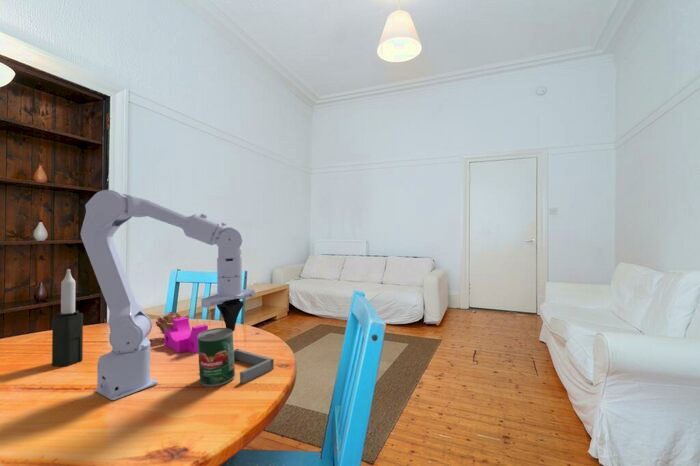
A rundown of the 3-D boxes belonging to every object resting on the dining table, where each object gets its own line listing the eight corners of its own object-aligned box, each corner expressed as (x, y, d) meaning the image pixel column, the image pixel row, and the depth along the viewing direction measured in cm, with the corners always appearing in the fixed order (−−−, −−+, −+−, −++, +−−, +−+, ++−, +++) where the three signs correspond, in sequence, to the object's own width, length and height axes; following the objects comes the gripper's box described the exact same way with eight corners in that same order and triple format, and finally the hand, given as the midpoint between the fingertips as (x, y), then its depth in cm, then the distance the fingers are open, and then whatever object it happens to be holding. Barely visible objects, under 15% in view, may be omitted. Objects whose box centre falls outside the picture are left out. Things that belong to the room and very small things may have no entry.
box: (242, 383, 77) (243, 373, 77) (205, 370, 84) (205, 360, 84) (273, 368, 86) (273, 359, 86) (236, 357, 93) (237, 348, 93)
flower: (156, 334, 113) (156, 311, 113) (186, 331, 117) (187, 309, 117) (153, 343, 104) (153, 318, 104) (185, 339, 108) (186, 315, 108)
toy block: (164, 344, 103) (164, 320, 103) (184, 340, 108) (184, 317, 108) (186, 356, 94) (186, 330, 94) (207, 350, 99) (207, 325, 99)
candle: (65, 367, 85) (66, 270, 85) (49, 365, 86) (50, 269, 86) (84, 359, 90) (85, 268, 90) (69, 358, 91) (70, 267, 91)
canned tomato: (231, 367, 85) (229, 325, 84) (238, 380, 78) (235, 335, 77) (198, 375, 81) (195, 331, 80) (201, 390, 74) (198, 342, 73)
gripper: (215, 281, 74) (215, 342, 74) (262, 273, 86) (263, 325, 86) (195, 279, 77) (196, 337, 77) (244, 272, 90) (244, 321, 90)
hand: (230, 330), depth 82 cm, fingers closed, pressing on canned tomato
